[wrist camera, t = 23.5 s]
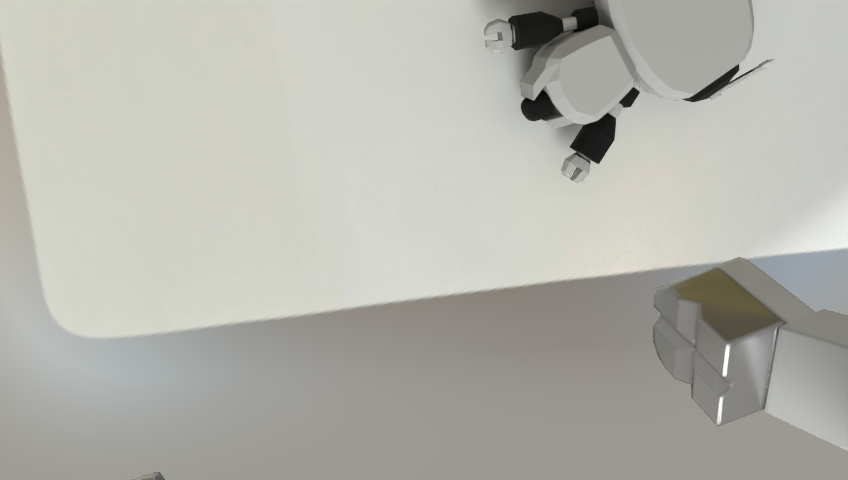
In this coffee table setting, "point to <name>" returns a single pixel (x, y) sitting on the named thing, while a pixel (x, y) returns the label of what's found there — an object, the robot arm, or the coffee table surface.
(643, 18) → the robot toy
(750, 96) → the coffee table surface
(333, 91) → the coffee table surface
